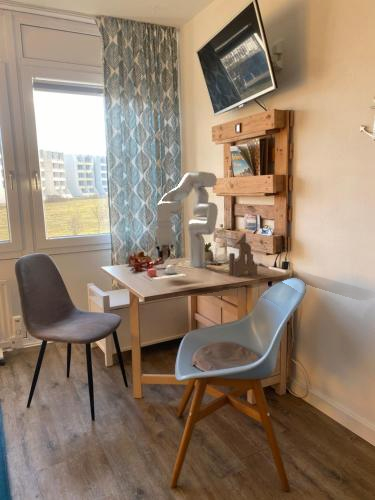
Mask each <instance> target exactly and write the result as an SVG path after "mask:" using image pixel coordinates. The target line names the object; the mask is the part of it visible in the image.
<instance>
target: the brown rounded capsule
mask: <svg viewBox="0 0 375 500" xmlns="http://www.w3.org/2000/svg"><path fill="white" fill-rule="evenodd" d="M162 253H163V259H165V258H166V259H168V258H169V257H168V245H162Z"/></svg>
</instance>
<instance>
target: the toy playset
mask: <svg viewBox="0 0 375 500" xmlns="http://www.w3.org/2000/svg"><path fill="white" fill-rule="evenodd" d="M153 255H154V254H153V253H149V254H146V255H145V251H142V250H141V251H138V252H137V253H136V251H134V252H133V255H131V254H130V253H128V259H127V261H126V263H127V264H128V265H125V268H126V267H127V268H130V267H131V266H132V267H131V268H130V269H129V272H132V271H135V272H140V273H141V272H142V273H143V272H147V269H152V268H154V267H156V266H159V265H164V264H165V262H166V261H167V258H165V259H163V258H160V257H159V258H158V259H156V260H155V261H154V263H153V261H152V256H153Z"/></svg>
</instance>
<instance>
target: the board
mask: <svg viewBox="0 0 375 500" xmlns="http://www.w3.org/2000/svg"><path fill="white" fill-rule="evenodd" d="M146 273H147V274H146V276H145V275H142V277H144V278H145V279H147V280H149V281H151V282H152V280H151V279H150V278H152V279H153V280H161V279H162V280H163V279H167V278H177V277H182V276H183V277H184V276H186V274H185V273H177V272H175V273H174V274H166V272H162V276H157V269H156V268H155V267H153V268H152V269H147V270H146ZM147 276H148V277H150V278H148V277H147Z"/></svg>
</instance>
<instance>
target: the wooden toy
mask: <svg viewBox="0 0 375 500" xmlns="http://www.w3.org/2000/svg"><path fill="white" fill-rule="evenodd" d="M246 240H247V234H246V232H243V233H242V234H241V235H240V236H239V238H237V240H235V242H234V244H235V245H238V256H237V258H235V257H236V256H235V253H234V252H230V253H228V257H229V258H228V275H230V276H233V277H235V276H238V277H241V276H242V274H243V273H244V272H246V271H247V274H248V275H250V276H251V275H254V276H258V264H257V263H256V262H255V261H254V254H253V253H252V246H251V245H250V244H249V243H248V242H247V241H246Z"/></svg>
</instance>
